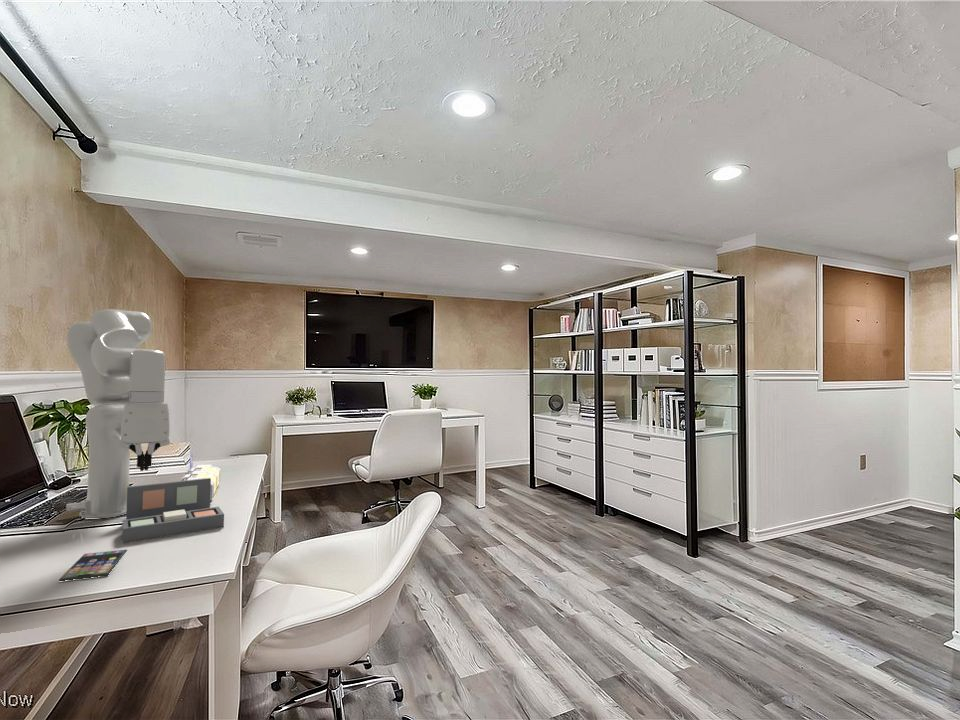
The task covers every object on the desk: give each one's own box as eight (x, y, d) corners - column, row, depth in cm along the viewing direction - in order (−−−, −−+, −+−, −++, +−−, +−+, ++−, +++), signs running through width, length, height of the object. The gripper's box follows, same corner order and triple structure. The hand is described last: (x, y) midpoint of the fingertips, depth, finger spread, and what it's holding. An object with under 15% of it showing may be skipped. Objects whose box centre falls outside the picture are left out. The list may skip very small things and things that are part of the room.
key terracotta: (195, 526, 129) (196, 517, 129) (193, 521, 132) (193, 512, 132) (216, 523, 132) (216, 514, 132) (213, 518, 135) (213, 509, 135)
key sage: (130, 537, 120) (131, 526, 120) (130, 531, 124) (130, 521, 124) (154, 533, 123) (154, 523, 123) (152, 528, 127) (153, 518, 127)
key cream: (164, 526, 124) (164, 517, 124) (162, 521, 128) (163, 512, 128) (186, 523, 127) (186, 513, 127) (184, 518, 131) (184, 509, 131)
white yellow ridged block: (187, 487, 171) (188, 450, 171) (220, 485, 175) (221, 449, 175) (173, 507, 148) (175, 464, 148) (211, 504, 152) (213, 462, 152)
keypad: (122, 543, 118) (124, 502, 118) (121, 522, 133) (122, 486, 133) (223, 526, 131) (224, 490, 131) (212, 509, 146) (213, 476, 146)
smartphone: (126, 552, 114) (127, 547, 114) (107, 578, 100) (108, 572, 100) (84, 556, 110) (84, 551, 111) (58, 584, 97) (58, 578, 97)
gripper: (109, 399, 116) (107, 476, 116) (182, 398, 125) (179, 469, 125) (109, 397, 122) (107, 469, 122) (179, 396, 131) (176, 464, 131)
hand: (143, 469), depth 124 cm, fingers closed
